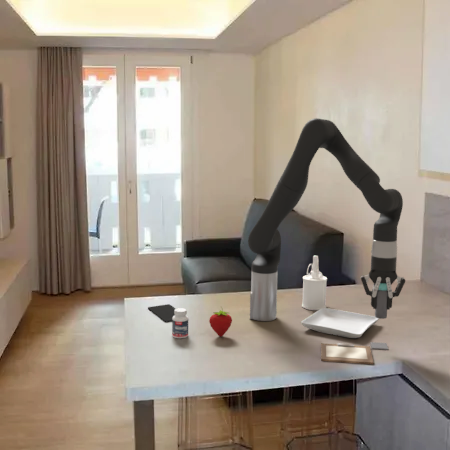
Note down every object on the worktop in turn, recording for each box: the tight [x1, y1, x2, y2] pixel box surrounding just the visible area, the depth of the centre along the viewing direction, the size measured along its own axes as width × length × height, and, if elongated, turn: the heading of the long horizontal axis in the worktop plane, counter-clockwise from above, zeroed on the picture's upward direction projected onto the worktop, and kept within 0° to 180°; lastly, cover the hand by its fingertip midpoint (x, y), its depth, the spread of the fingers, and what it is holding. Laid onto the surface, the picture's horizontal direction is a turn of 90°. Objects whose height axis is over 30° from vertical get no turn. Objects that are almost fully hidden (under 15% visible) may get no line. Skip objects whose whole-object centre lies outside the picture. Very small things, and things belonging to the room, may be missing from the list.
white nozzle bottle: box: [301, 255, 328, 311], centre depth 228 cm, size 10×9×20 cm
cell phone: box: [147, 304, 176, 323], centre depth 219 cm, size 9×18×1 cm, turn 27°
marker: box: [374, 283, 388, 320], centre depth 186 cm, size 4×4×11 cm
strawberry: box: [208, 306, 233, 337], centre depth 195 cm, size 6×8×10 cm
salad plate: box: [300, 307, 380, 339], centre depth 205 cm, size 21×21×3 cm
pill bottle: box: [171, 307, 189, 339], centre depth 195 cm, size 5×5×9 cm
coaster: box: [370, 341, 389, 351], centre depth 188 cm, size 5×5×1 cm
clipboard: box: [320, 342, 374, 365], centre depth 182 cm, size 15×13×1 cm
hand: (381, 308), depth 186 cm, fingers closed on marker, 3 cm apart
